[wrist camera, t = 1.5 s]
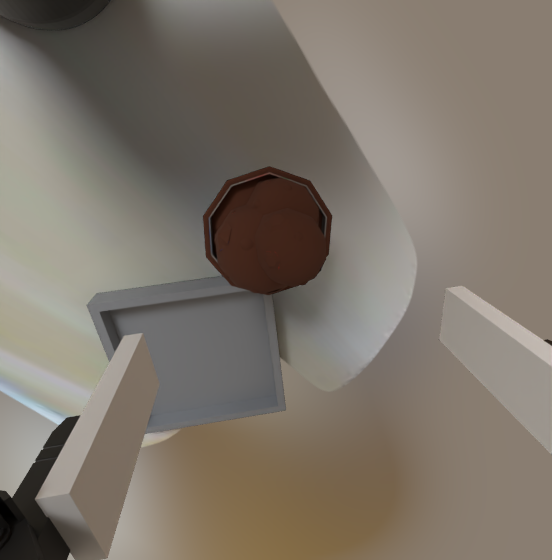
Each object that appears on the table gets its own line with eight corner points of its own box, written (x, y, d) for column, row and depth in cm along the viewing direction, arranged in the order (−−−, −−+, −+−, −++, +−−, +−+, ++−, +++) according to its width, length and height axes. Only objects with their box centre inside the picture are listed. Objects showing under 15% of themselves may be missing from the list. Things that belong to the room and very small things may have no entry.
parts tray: (96, 293, 38) (86, 305, 35) (267, 269, 39) (270, 279, 36) (143, 418, 46) (138, 434, 44) (283, 395, 47) (286, 410, 45)
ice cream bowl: (270, 135, 33) (295, 139, 19) (326, 223, 37) (379, 275, 24) (189, 198, 35) (159, 242, 21) (252, 275, 39) (261, 351, 25)
